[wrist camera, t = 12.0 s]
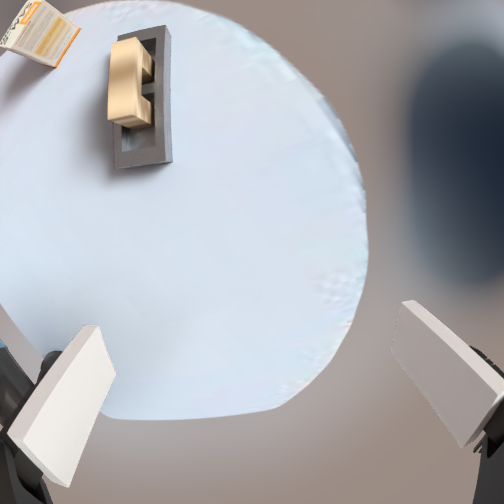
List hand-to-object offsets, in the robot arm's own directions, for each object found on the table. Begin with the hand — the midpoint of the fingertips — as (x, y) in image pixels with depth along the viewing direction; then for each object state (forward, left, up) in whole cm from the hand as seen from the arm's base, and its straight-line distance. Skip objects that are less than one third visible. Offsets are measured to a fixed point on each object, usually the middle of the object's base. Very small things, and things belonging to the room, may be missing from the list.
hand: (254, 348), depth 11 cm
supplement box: (-29, +34, -29) cm, 53 cm away
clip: (-12, +19, -28) cm, 36 cm away
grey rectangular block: (-12, +19, -29) cm, 36 cm away
